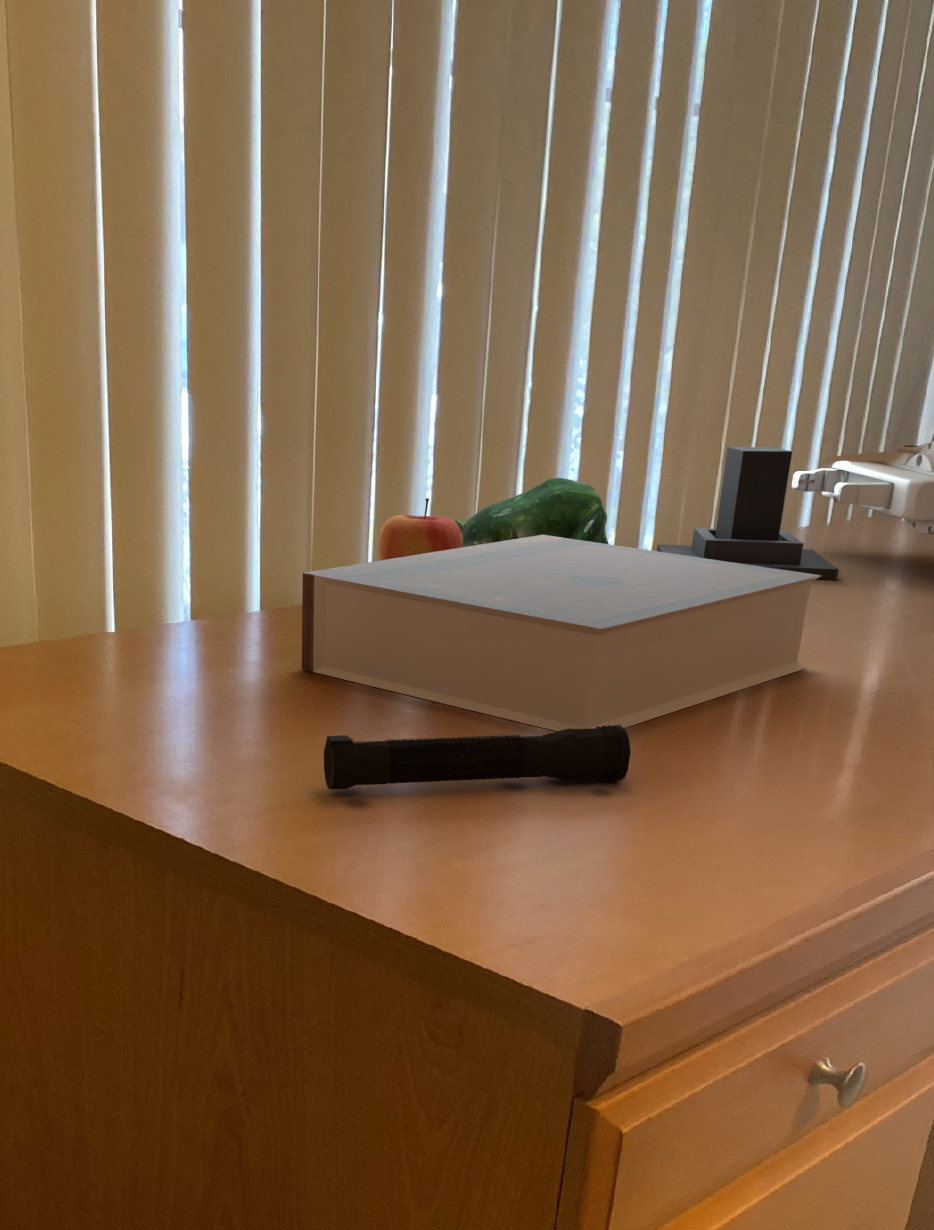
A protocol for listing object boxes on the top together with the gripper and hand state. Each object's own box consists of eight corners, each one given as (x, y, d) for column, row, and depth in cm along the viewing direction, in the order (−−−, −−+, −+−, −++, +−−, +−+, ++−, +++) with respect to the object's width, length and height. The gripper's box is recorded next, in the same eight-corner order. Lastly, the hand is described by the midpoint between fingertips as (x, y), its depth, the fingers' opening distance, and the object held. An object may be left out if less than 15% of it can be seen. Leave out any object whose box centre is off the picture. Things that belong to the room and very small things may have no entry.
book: (301, 669, 103) (302, 572, 99) (535, 617, 121) (542, 534, 118) (589, 739, 88) (601, 629, 85) (806, 668, 106) (822, 575, 103)
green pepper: (580, 533, 144) (432, 541, 142) (595, 448, 138) (441, 455, 135) (619, 611, 136) (463, 621, 134) (637, 524, 129) (473, 533, 127)
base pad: (811, 559, 151) (816, 529, 150) (836, 579, 141) (842, 547, 139) (656, 554, 152) (659, 524, 151) (669, 573, 142) (673, 541, 140)
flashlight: (627, 787, 80) (633, 733, 78) (333, 800, 76) (334, 744, 75) (606, 771, 82) (612, 718, 81) (322, 783, 79) (323, 728, 78)
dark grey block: (759, 553, 148) (775, 447, 143) (775, 559, 144) (792, 451, 140) (712, 553, 147) (727, 446, 142) (727, 559, 144) (743, 451, 139)
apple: (369, 601, 126) (372, 503, 122) (385, 586, 132) (388, 493, 128) (453, 606, 124) (458, 507, 120) (465, 591, 131) (471, 497, 127)
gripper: (993, 536, 138) (858, 536, 136) (890, 507, 156) (768, 507, 154) (1009, 465, 135) (871, 464, 133) (902, 444, 153) (778, 442, 151)
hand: (815, 487), depth 144 cm, fingers open, 8 cm apart
